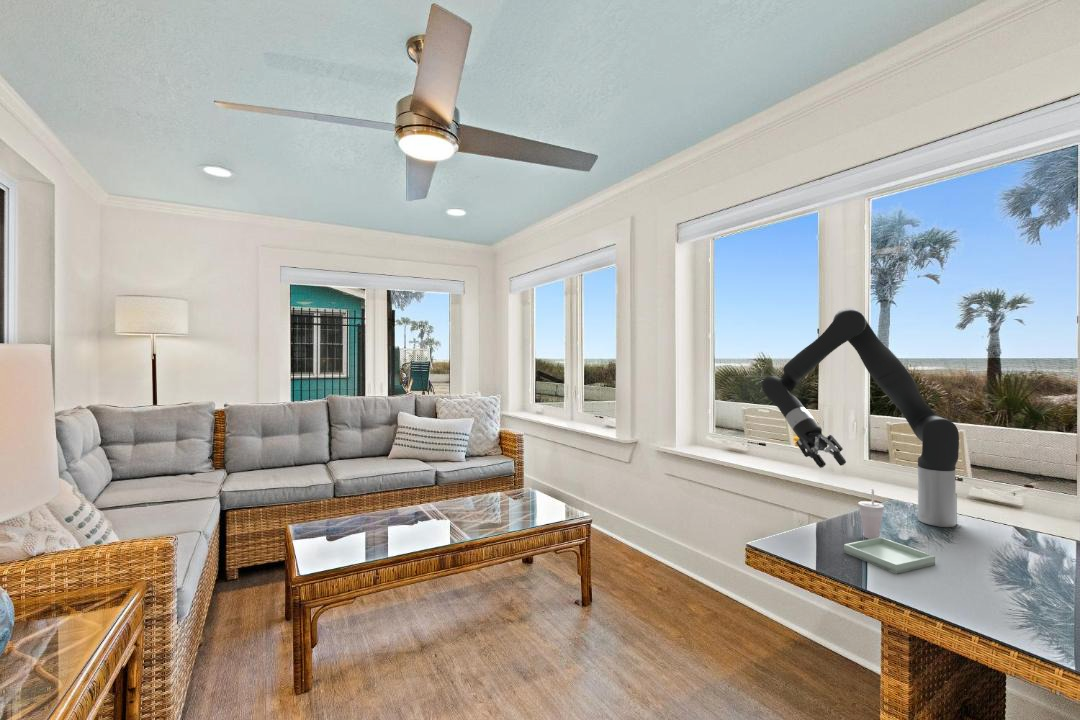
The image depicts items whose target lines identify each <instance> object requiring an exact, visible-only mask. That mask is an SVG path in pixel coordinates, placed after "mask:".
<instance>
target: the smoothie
mask: <svg viewBox="0 0 1080 720" xmlns="http://www.w3.org/2000/svg"><path fill="white" fill-rule="evenodd" d="M857 507H858V508H859V513H860V521H861V527H862V528H861V529H862V533H863V537H864V538H866V539H867V540H868V539H873V538H878V537H880V532H881V525H882V519H883V512H884V510H885V505H884V504H882V503H879V502H876V501H875V488H874V489H873V488H872V489H871V501H870V500H869V501H868V500H861V501H858V502H857Z"/></svg>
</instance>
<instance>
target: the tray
mask: <svg viewBox="0 0 1080 720" xmlns="http://www.w3.org/2000/svg"><path fill="white" fill-rule="evenodd" d="M843 552H844V554H847V555H850V556H851V557H854V558H856V559H860V560H862V561H864V562H867V563H868V564H872V565H874V566H877V567H879V568H881V569H884V570H886V571H889V572H891V573H893V574H896V575H897V574H902V573H907V572H910V571H914V570H918V569H919V570H920V569H924V568H927V567H931V566H935V565H936V555H933V554H930V553H927V552H924V551H921V550H918V549H916V548H913V547H911V546H908V545H904V544H902V543H899V542H897V541H893V540H890V539H887V538H885V537H882V536H879V537H878V538H873V539H868V538H867V539H863V540H858V541H854V542H849V543H844V544H843Z"/></svg>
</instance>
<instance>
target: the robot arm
mask: <svg viewBox="0 0 1080 720" xmlns="http://www.w3.org/2000/svg"><path fill="white" fill-rule="evenodd" d="M847 342H848V343H849V345H851V346H852V347H853V348H854V349H855V351H856V352H857V354H858V355H859V358H860V360H861V361H862V363H863V365H864V367H865V368H866V370H867V373H869V375H870V377H871V378H872V379H873V381H874V382H875V383H876V385H877V386H878V387H879V388H880V389H881V390H882V392H883V393H884V394H885V395H886V396H887V398H889V400H890V401H891V402H892V403H893V404H894V405H895V407H896V408H897V409H898V410H899V411H900V413H901V414H902V416H903V417H904V419H905V420H906V421H907V423H908V425H909V426H910V428H911V430H912V431H913V433H914V435H915V436H916V438H917V439H919V441H921V442H922V443H921V445H922V446H921V448H922V449H921V451H922V452H921V455H920V456H919V457H918V458H917V515H918V516H917V520H918V521H919V522H921V523H923V524H926V525H929V526H934V527H940V528H953V527H956V526H957V524H958V494H957V492H956V491H957V490H956V486H957V485H956V465H957V463H958V461H959V453H960V452H959V450H960V433H959V429H958V427H957V425H956V424H955V423H954V422H953V421H951V420H949V419H946V418H943V417H941V416H940V415H938V414H937V413H936V412H934V410H933V409H932V408H931V407H930V406H929V405H928V404H927V403H926V401H925V400H924V399H923V396H922V395H921V392H920V390H919V387H918V385H917V383H916V381H915V379H914V377H913V376H912V374H911V373H910V371H909V370H908V369H907V368H906V366H905V364H903V363H902V361H901V360H900V359H899V358H898V357H897V356H896V354H895V353H894V352H893V351H892V350H890V349H889V347H888V346H887V345H886V344H885V343H883V342H882V341H881V340H880V339H879V336H877V334H876V333H875V331H874V330H873V329H872V327H871V325H870V324H869V322H868V320H867V318H866V316H865V315H864V313H863V312H862V311H861V310H859V309H858V308H854V307H845V308H842V309H840V310H839V311H838V312H837V313H836V314H835V315H834V316H833V320H832V322H831V323H830V325H828V327H827V328H826V329H825V330H824V331H823V332H822V333H821V334H820V335H819V336H818V337H817V338H816V339H815V340H814V341H812V342H811V343H810V344H809V345H807V346H806V347H804V348H803V349H802V350H801V351H799V352H798V353H797V354H796V355H794V356H793V357H792V358H791V359H790V360H789V361H788V362H787V363H786V364H785V365H784V366H783V374H782V375H781V376H780V377H778V376H776V375H768V376H765V378H763V379H762V382H761V389H762V392H763V393H764V394H765V396H766V397H767V399H769V401H771V402H772V403H773V405H775V406H776V408H778V409H779V412H780V413H781V415H783V417H784V418H785V419H786V421H787V423H788V426H789V427H790V428H791V430H792V431H793V433H795V435H796V437H797V438H798V439H797V440H796V441H795V443H796V445H797V447H798V448H799V450H800V452H801V453H802V454H803V456H804V457H805V458H807V457H810V458H811V459H813V461H814V462H815V464H816V465H817V467H818V468H819V469H822V468H823V469H824V467H825V466H826V465H827V463H826V461H825V460H824V459H823V458H822V456H821V455H820V454H819V451H823V452H825V453H829V454H831V455H832V457H833V458H834V459H835V461H836V462H837V464H839V466H844V465H846V463H847V461H846V459H845V458H844V456H843V455H842V454H841V451H843V450H844V448H843V446H841V444H840V443H839V442H838V441H837V439H836V438H835V437H834V436H833V435H832V434H829V435H828V436H825V435H824V434H823V433H822V431H823V430H822V427H821V425H819V423H818V422H817V420H816V419H815V418H814V416H812V414H811V413H810V411H809V410H808V409H806V408H805V406H804V405H803V404H802V402H801V401H800V399H798V397H797V396H795V395H793V394H791V393H792V392H793V391H794V390H795V388H796V387H797V385H798V384H799V382H800V381H801V380H802V379H803V378H805V377H806V376H807V375H808V374H809V373H810V372H811V371H812V370H814V369H815V368H816V367H817V366H818V365H819V364H820V363H821V362H823V360H824V359H826V357H828V356H829V355H830V354H831V353H832V352H834V351H835V350H837V348H839V347H840V346H842V345H844V344H845V343H847Z"/></svg>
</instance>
